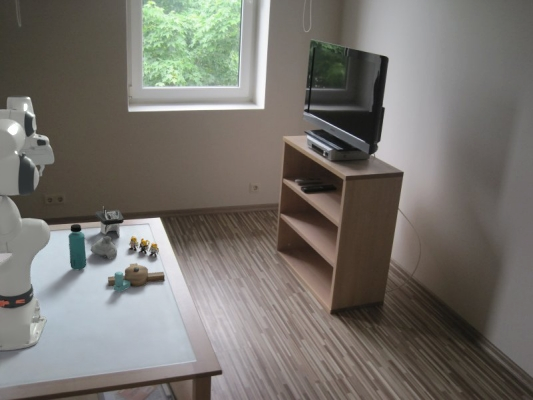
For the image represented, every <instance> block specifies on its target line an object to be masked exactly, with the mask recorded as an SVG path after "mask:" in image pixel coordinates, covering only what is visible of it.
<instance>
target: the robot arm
mask: <svg viewBox="0 0 533 400" xmlns="http://www.w3.org/2000/svg"><path fill="white" fill-rule="evenodd" d="M36 131H37V116H36V114H35V112H34V107H33V103H32V99H31V97H29V96H27V95H10V96H8V97H7V99H6V109H5V108H4V109H3V108H1V109H0V254H1V255H2V254H11V255H10V256H9V257H7V258H5V259H3V260H2V261H0V351H14V350H21V349H26V348H30V347H33V346H35V345H37V344H38V342H39V340H40V337H41V335H42V333H43V330H44V329H45V325H46V323H47V317H46V316H43V315H41V310H40V301H39V299H38V298H37V297H35V296H34V287H33V283H32V281H31V279H32V277H31V267H32V262H33V261H34V258H35V257H36V256H37V255H38V253H40V252H41V250H43V249H44V248H45V247H46V246H47V245H48V243H50V240H51V229H50V226H49V224H48V223H47V222H46V221H45V220H43V219H39V218H31V217H28V218H27V217H26V218H22V217H21V213H20V210H19V208H18V206H17V205H16V203H15V201H14V200H12V199H11V198H10V197H9V196H20V197H23V196H30V195H32V194H34V192H36V189H37V187H38V184H39V181H40V177H43V171H44V169H45V167H46V166H45V165H53V164H54V162H55V155H54V152H53V151H54V150H53V148H52V147H51V145H50V140H49V139H50V138H49V137H47V136H46V135H43V134H42V135H41V134H37V133H36ZM37 166H40V168H39V170H38V167H37Z"/></svg>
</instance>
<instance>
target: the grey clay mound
mask: <svg viewBox="0 0 533 400" xmlns="http://www.w3.org/2000/svg"><path fill="white" fill-rule="evenodd" d="M90 252H91V253H92V254H94V255H98V257H100V258H102V259H104V258H106V257H107V258H108V259H116V257H117V256H118V249H117V247H116V245H115V244H114V243H113V242H112V237H110V236H108V235H107V236H104V237H103V238H102V239H98V241H96V242H95V243H94V244H92V245H91V247H90Z"/></svg>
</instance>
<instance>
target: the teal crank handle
mask: <svg viewBox="0 0 533 400" xmlns="http://www.w3.org/2000/svg"><path fill="white" fill-rule="evenodd" d="M123 275H124V272H122V271H116V272H115V273H114V276H115V285H114V286H113V291H114V292H118V293H121V292H124V291H125V290H126V289H128V288H131V286H130V282H129V281H127V280H123Z"/></svg>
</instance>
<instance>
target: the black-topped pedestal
mask: <svg viewBox="0 0 533 400" xmlns="http://www.w3.org/2000/svg"><path fill="white" fill-rule="evenodd" d="M95 218H97V220H98V221H99V224H100V232H101V233H102V234H104V235H107V233H108V232H111V231H112V230H114V231H115V232H116V231H117V232H116V233H117V236H118V238H121V237H120V236H121V235H120V224H123V223H124V220H125V219H124V216H123V215H122V213H121V211H120V210H119V209H112V210H106V209H105V207H104V206H102V210H100V211H95Z"/></svg>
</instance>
